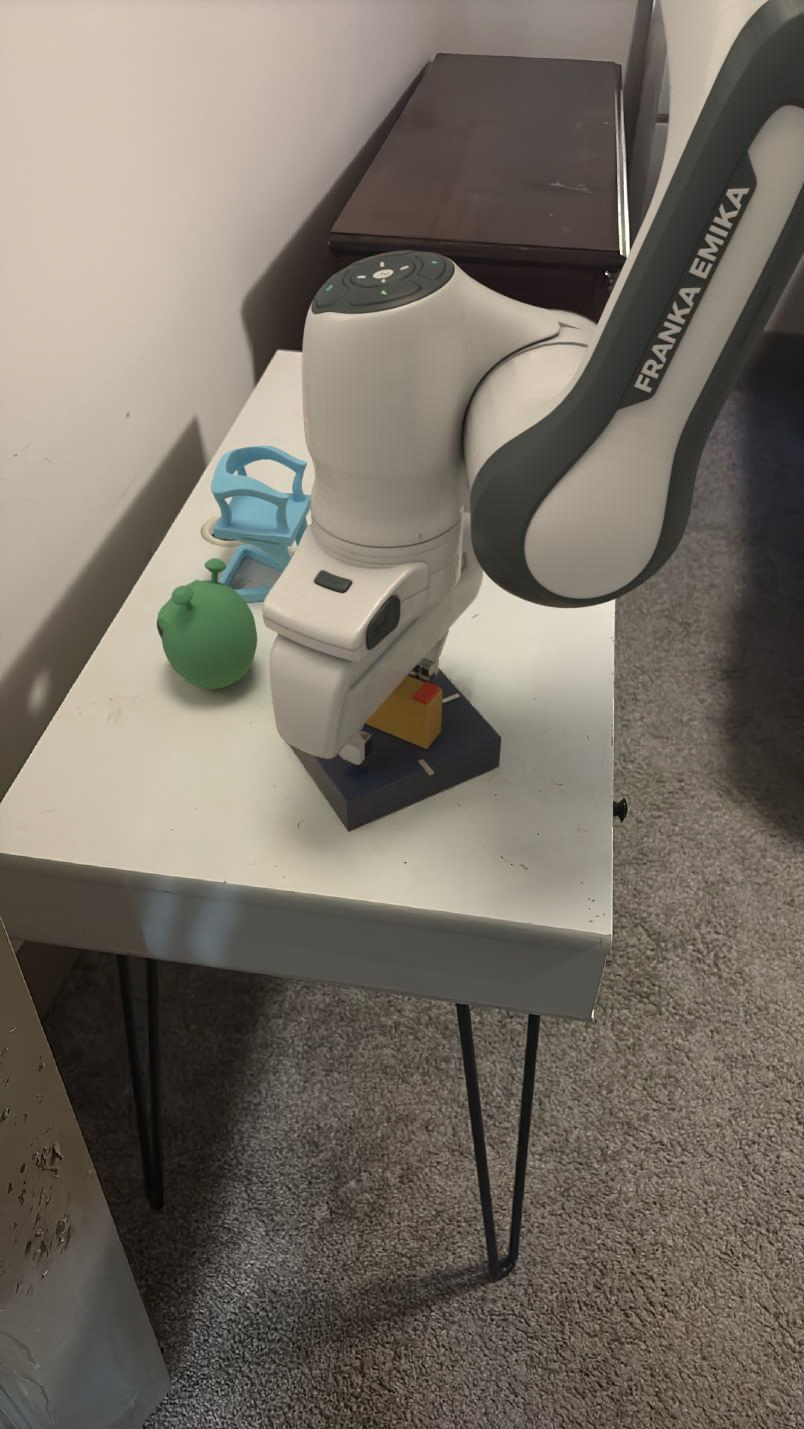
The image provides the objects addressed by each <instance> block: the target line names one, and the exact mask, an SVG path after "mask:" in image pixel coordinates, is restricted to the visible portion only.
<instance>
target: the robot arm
mask: <svg viewBox="0 0 804 1429" xmlns="http://www.w3.org/2000/svg"><path fill="white" fill-rule="evenodd" d="M659 5H660V12H661V17H662V23H663V29H664V39H665V46H666V54H667V55H666V56H667V66H668V84H669V85H668V86H669V87H668V88H669V89H668V90H669V91H668V94H669V103H668V104H669V108H668V124H667V134H666V142H665V147H664V154H663V160H662V165H661V168H660V173H659V177H658V180H657V184H656V187H655V190H654V193H653V196H652V199H651V202H650V204H649V207H648V209H647V211H646V214H645V217H644V219H643V221H642V223H641V226H640V227H639V230H638V232H637V235H636V237H635V239H634V241H633V244H632V246H631V248H630V251H629V253H628V255H627V257H626V259H625V261H624V264H623V266H622V268H621V271H620V273H619V275H618V277H617V280H616V282H615V284H614V286H613V288H612V291H611V292H610V296H609V297H608V300H607V302H606V304H605V307H604V309H603V311H602V313H601V316H600V317H599V320H598V322H596V321H594V320H593V319H592V318H589V317H587V316H586V315H583V314H581V313H578V312H575V311H571V310H566V309H559V308H543V307H540V306H536V305H535V306H534V305H532V304H528V303H525V302H521V301H519V300H516V299H513V298H510V297H508V296H505V295H504V294H501V293H499V292H497V291H495V290H493V289H491V288H489V287H487V286H485V285H484V284H482V283H480V282H478V281H477V280H476V279H474V278H473V277H471V276H469V275H468V274H467V273H466V272H465V271H464V270H462V269H461V268H460V267H459V266H458V265H457V264H456V263H455V262H454V260H452V259H451V258H448V257H447V256H444V255H442V254H439V253H436V252H431V251H415V250H413V249H411V250H409V249H408V250H395V251H389V252H383V253H379V254H375V255H372V256H368V257H365V258H362V259H360V260H358V261H354V262H352V263H351V264H349V265H347V266H346V267H345V268H343V269H341V270H340V271H338V272H336V273H334V274H333V275H332V276H330V277H329V279H327V281H326V282H324V284H323V285H322V286H321V287H320V288H319V289H318V291H317V292H316V294H315V296H314V297H313V299H312V301H311V304H310V306H309V309H308V311H307V315H306V317H305V318H306V319H305V324H304V329H303V336H302V337H303V338H302V350H301V351H302V352H301V353H302V354H301V395H302V412H303V413H302V414H303V416H302V417H303V430H304V440H305V444H306V448H307V451H308V453H309V456H310V458H311V461H312V464H313V468H314V479H313V484H312V488H311V492H310V495H311V499H310V518H311V523H310V524H308V527H307V528H306V530H305V531H304V533H303V536H302V538H301V540H300V543H299V545H298V547H296V549H295V551H294V553H293V555H292V556H291V557H292V558H291V560H290V562H289V564H288V565H287V567H286V568H285V570H284V571H282V572H281V574H280V576H279V577H278V579H277V580H276V581H275V583H274V584H273V585H272V586H273V587H272V589H271V590H270V592H269V593H268V595H267V596H266V598H265V600H264V601H263V603H262V609H261V610H262V611H261V612H262V620H263V623H264V626H265V627H266V628H267V629H268V630H271V631H273V632H274V633H276V634H277V635H276V637H275V639H274V641H273V644H272V647H271V651H270V656H269V657H270V658H269V680H270V693H271V701H272V709H273V716H274V722H275V727H276V730H277V733H278V735H279V737H280V739H282V740H283V741H284V742H285V743H286V744H288V745H289V744H290V745H292V746H293V747H295V748H297V749H299V750H301V751H304V752H306V753H309V754H311V755H314V756H317V757H320V758H324V759H332V758H334V757H335V756H337V754H338V753H339V755H340V757H342V758H343V759H344V760H347V761H349V762H351V763H353V764H356V765H360V764H361V763H362V762H363V760H364V759H365V758H366V757H367V756H368V754H369V753H370V752H371V751H372V746H371V744H372V734H370V733H367V732H365V731H361V730H362V728H363V726H364V724H365V723H366V722H367V720H368V719H369V718H370V717H371V716H372V715H373V714H374V713H375V711H376V710H377V709H378V708H379V707H380V706H381V705H382V703H383V702H384V701H385V700H386V699H387V698H388V697H389V696H390V694H391V693H392V692H393V691H394V690H395V689H396V688H397V687H398V685H399V684H400V683H401V682H402V681H403V680H404V679H405V678H406V676H409V677H412V678H414V679H417V680H420V681H422V682H428V683H430V682H431V681H432V680H433V679H434V678H435V676H436V675H437V674H438V672H439V669H440V657H441V655H442V652H443V650H444V646H445V643H446V641H447V638H448V636H449V632H450V628H451V627H452V626H453V625H454V624H455V623H456V621H458V619H459V618H460V617H461V616H462V615H463V614H464V613H465V612H466V610H467V609H468V608H470V606H471V604H473V603H474V601H475V600H476V599H477V597H478V595H479V592H480V590H481V587H482V584H483V580H484V579H483V578H484V574H485V575H486V576H487V577H488V578H489V579H490V580H491V581H492V582H493V583H494V584H495V585H497V587H499V588H501V589H502V590H504V591H505V592H507V593H508V594H510V595H512V596H513V597H516V598H519V599H521V600H523V601H526V602H529V603H532V604H535V605H538V606H544V607H548V608H555V609H581V608H589V607H594V606H599V605H603V604H606V603H609V602H611V601H614V600H617V599H619V598H621V597H623V596H625V595H627V594H628V593H631V592H632V591H634V590H636V589H637V588H638V587H640V586H642V585H643V584H644V583H646V582H648V581H649V579H651V578H652V577H653V576H654V575H656V573H658V571H660V570H661V569H662V568H663V567H664V566H665V565H666V563H667V562H668V561H669V560H670V558H671V557H672V556H673V555H674V553H675V552H676V550H677V549H678V548H679V545H680V543H681V541H682V540H683V537H684V534H685V532H686V529H687V527H688V524H689V519H690V515H691V511H692V504H693V499H694V492H695V486H696V480H697V474H698V470H699V465H700V463H701V458H702V456H703V452H704V450H705V448H706V444H707V442H708V439H709V437H710V434H711V432H712V430H713V428H714V426H715V423H716V422H717V419H718V418H719V416H720V414H721V412H722V410H723V408H724V406H725V404H726V403H727V401H728V398H729V396H730V394H731V393H732V391H733V389H734V387H735V385H736V384H737V381H738V379H739V378H740V376H741V373H742V372H743V370H744V368H745V366H746V364H747V362H748V360H749V358H750V357H751V354H752V353H753V351H754V349H755V347H756V345H757V343H758V341H759V339H760V337H761V336H762V334H763V332H764V330H765V328H766V327H767V324H768V322H769V320H770V319H771V317H772V315H773V313H774V312H775V309H776V307H777V306H778V303H779V302H780V300H781V298H782V296H783V294H784V292H785V291H786V288H787V286H788V284H789V282H790V281H791V279H792V277H793V275H794V273H795V271H796V269H797V267H798V265H799V263H800V261H801V260H802V257H803V256H804V0H659ZM290 745H289V746H290Z"/></svg>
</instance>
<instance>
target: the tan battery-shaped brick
mask: <svg viewBox="0 0 804 1429" xmlns="http://www.w3.org/2000/svg"><path fill="white" fill-rule="evenodd" d="M441 716H442V689H440V688H439V687H438V686H436V685H433V684H431V683H428V682H422V681H420V680H417V679H414V678H412V677H409V676H406V678H405V679H404V680H403V681H402V682H401V683H400V684H399V685H398V687H397V688H396V689H395V690H394V691H393V692H392V693H391V694H390V696H389V697H388V698H387V699H386V700H385V701H384V702H383V703H382V705H381V706H380V707H379V708H378V709H377V710H376V711H375V713H374V714H373V715H372V716H371V717H370V718H369V719H368V720H367V722H366V723H365V724H367V725H370V726H372V727H374V728H377V729H379V730H382V731H384V732H386V733H389V734H391V735H394V736H396V737H398V738H401V739H403V740H405V741H408V742H410V743H413V744H415V745H417V746H420V747H422V748H425V749H428V747H429V746H430V745H431V744H432V742H433V741H434V740H435V739H436V737H437V736H438V735H439V734H440V732H441Z"/></svg>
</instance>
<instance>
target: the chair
mask: <svg viewBox="0 0 804 1429" xmlns="http://www.w3.org/2000/svg"><path fill="white" fill-rule="evenodd" d="M262 460H263V461H264V460H269V461H274V462H277V463H279V464H281V465H283V466H284V467H286V468H288V469H290V470H291V471H293V472H294V473H295V475H294V477H293V480H292V481H293V482H292V488H291V490H292V493H291V492H289V493H288V492H282V491H278V490H276V489H274V488H273V487H271V486H269V485H267V484H266V483H264V482H263V481H260V480H258V479H255V478H254V477H251V476H248V473H247V471H246V467H247V466H248V465H250V464H253V463H254V462H258V461H262ZM307 465H308V462H307V461H306V460H301V459H299V458H296V457H295V456H293V455H291V454H289V453H288V452H287V451H284V450H282V449H280V448H279V447H276V446H272V445H256V446H255V445H254V446H246V447H240V448H236V449H232V450H230V451H228V452H225V453H224V454H223V455H222V456H221V457H220V458H219V461H218V462H217V464H216V467H215V470H214V472H213V475H212V479H211V484H210V491H211V493H212V495H213V497H214V500H215V501H216V503H217V505H218V507H219V510H220V517H219V518H218V520H217V522H216V523H215V525H214V526H213V528H212V531H213V532H212V533H213V538H214V539H220V540H229V541H231V540H232V541H233V540H234V541H238V542H241V543H243V544H240V545H238V547H237V548H236V550H235V551H234V553H233V555H232V557H231V558H230V560H229V562H228V563H227V565H226V569H225V570H223V572H222V574H221V576H220V578H219V579H218V582H220V583H223V584H225V585H227V586H229V585H230V584H231V582H232V580H233V578H234V576H235V575H236V573H237V571H238V569H239V568H240V566H241V564H242V562H243V560H244V559H245V558H248V559H252V560H254V561H256V562H259V563H261V564H264V565H266V566H269V567H271V568H274V569H276V570H279V571H282V572H283V571H284V570H285V568H286V567H287V565H288V564H289V562H290V560H291V558H292V557H293V556H292V555H291V554H290V552H289V547H290V548H292V546H293V544H294V543H296V546H297V547H298V545H299V543H300V540H301V538H302V536H303V533H304V531H305V530H306V528H307V527H308V526H309V524H308V521H307V516H308V514H309V512H310V511H311V508H310V499H311V494H305V493H304V491H303V477H304V474H305V470H306V468H307ZM236 471H237V472H236ZM235 472H236V473H237V474H234V473H235ZM230 498H231V499H230ZM227 499H230V501H229V503H228V502H227V501H226V500H227ZM297 547H296V548H297ZM273 586H274V585H268V586H258V587H247V588H237V589H234V590H235V591H236V592H237V593H239V594H240V595H241V596H242V598H243V599H244V600H245V602H246V603H256V602H264V600H265V598H266V596H267V595H268V593H269V592H270V590H271V589H272V587H273ZM229 587H230V586H229Z"/></svg>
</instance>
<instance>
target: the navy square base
mask: <svg viewBox="0 0 804 1429" xmlns="http://www.w3.org/2000/svg"><path fill="white" fill-rule="evenodd" d="M430 683H431V684H433V685H436V686H438V687H439V688H440V689H442V716H441V732H440V734H439V735H438V736H437V737H436V739H435V740H434V741H433V742H432V744H431V745H430V746H429V747H428V749H425V748H422V747H420V746H417V745H415V744H413V743H410V742H408V741H405V740H403V739H401V738H398V737H396V736H394V735H391V734H389V733H386V732H384V731H382V730H379V729H377V728H374V727H372V726H370V725H367V724H364V726H363V728H362V730H361V731H365V732H367V733H370V734H372V744H371V746H372V751H371V752H370V753H369V754H368V756H367V757H366V758H365V759H364V760H363V762H362V763H361V764H360V765H356V764H353V763H351V762H349V761H347V760H344V759H343V758H342V757H340V755H339V753H338V754H337V756H335V757H334V758H332V759H324V758H320V757H317V756H314V755H311V754H309V753H306V752H304V751H301V750H299V749H297V748H295V747H293V746H292V745H290V744H288V745H289V747H290V748H291V750H292V752H293V753H294V754H295V756H296V757H297V759H298V760H299V762H300V763H301V765H303V767H304V769H305V771H306V772H307V773H308V775H309V776H310V778H311V779H312V780H313V782H314V784H315V786H316V787H317V789H318V790H319V791H320V793H321V794H322V796H323V797H324V798H325V800H326V801H327V803H328V805H329V806H330V807H331V809H332V810H333V811H334V813H335V815H336V817H338V819H339V820H340V822H341V824H342V825H343V826H344V828H345V829H346V831H347V832H352V831H354V830H356V829H358V828H361V827H363V826H366V825H367V824H370V823H372V822H375V821H377V820H379V819H382V818H384V817H386V816H388V815H392V814H393V813H395V812H398V811H401V810H403V809H405V808H408V807H410V806H412V805H414V804H416V803H419V802H420V801H423V800H426V799H429V798H431V797H433V796H436V795H437V794H440V793H443V792H444V791H447V790H449V789H451V788H453V787H456V786H458V785H461V784H463V783H466V782H467V781H471V780H472V779H475V778H476V777H479V776H481V775H485V774H487V773H488V772H491V771H493V770H496V769H497V768H499V767H500V761H501V748H502V740H503V739H502V736H501V735H500V734H499V733H498V732H497V731H496V730H495V728H493V726H492V724H490V723H489V722H488V720H486V718H484V716H483V715H482V714H481V713H480V711H478V709H477V708H476V707H475V706H474V705H473V704H472V703H471V702H470V701H469V699H468V698H467V697H466V696H465V695H464V694H463V693H462V692H461V691H460V689H458V688H457V686H456V685H455V684H454V683H453V682H452V680H450V678H449V677H448V676H447V675H446V674H445V672H443V671H442V669H441V668H439V672H438V674H437V675H436V676H435V678H434V679H433V680H432V681H431V682H430Z"/></svg>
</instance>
